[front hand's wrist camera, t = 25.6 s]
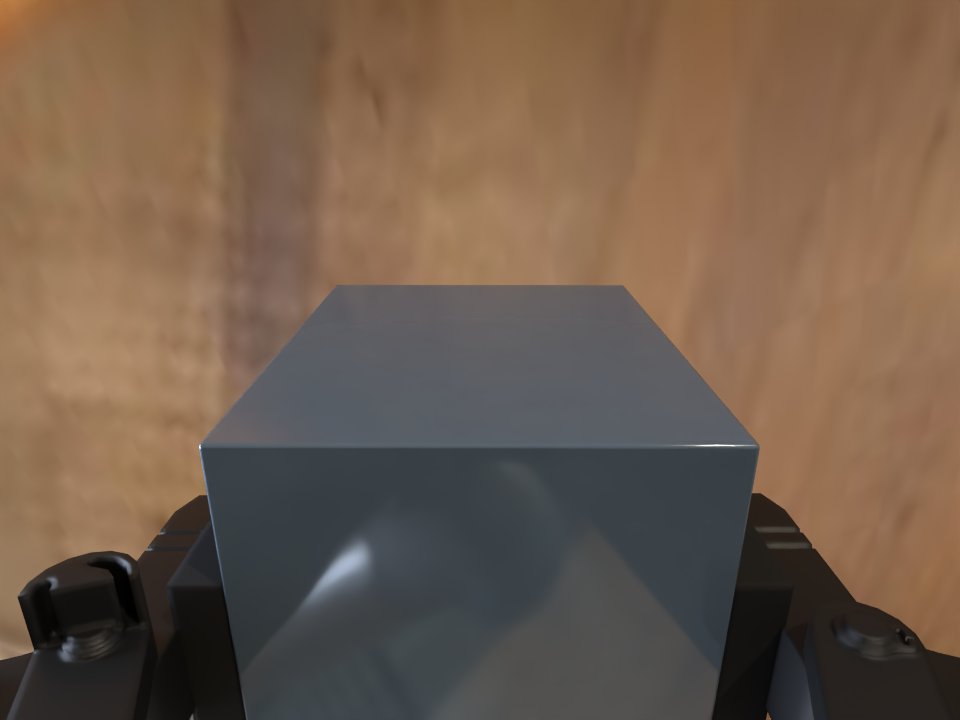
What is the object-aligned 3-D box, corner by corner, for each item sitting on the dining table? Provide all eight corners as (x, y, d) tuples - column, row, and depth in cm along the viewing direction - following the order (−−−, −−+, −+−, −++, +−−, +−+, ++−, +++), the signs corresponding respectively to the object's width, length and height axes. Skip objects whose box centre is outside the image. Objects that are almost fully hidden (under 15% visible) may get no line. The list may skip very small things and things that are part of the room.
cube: (603, 536, 17) (692, 840, 10) (356, 535, 17) (265, 839, 10) (623, 285, 14) (762, 445, 7) (335, 284, 14) (196, 444, 7)
